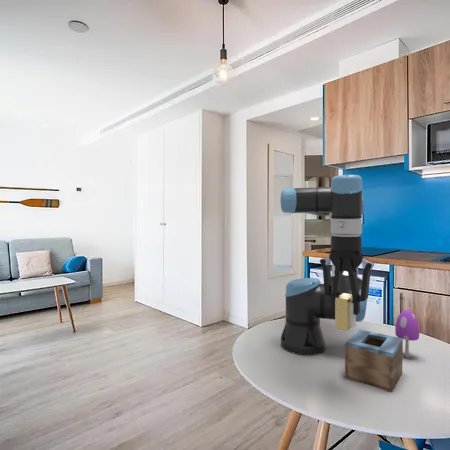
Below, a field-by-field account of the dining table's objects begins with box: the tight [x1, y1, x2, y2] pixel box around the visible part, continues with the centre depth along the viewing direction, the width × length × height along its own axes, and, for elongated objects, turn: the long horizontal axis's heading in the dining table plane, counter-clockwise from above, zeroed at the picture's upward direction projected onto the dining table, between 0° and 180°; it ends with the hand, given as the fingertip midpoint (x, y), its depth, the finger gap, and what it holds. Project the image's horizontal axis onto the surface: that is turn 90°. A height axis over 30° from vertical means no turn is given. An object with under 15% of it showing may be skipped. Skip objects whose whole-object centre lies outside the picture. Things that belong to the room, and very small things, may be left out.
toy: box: [394, 309, 420, 358], centre depth 103 cm, size 7×7×15 cm
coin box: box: [344, 329, 404, 392], centre depth 92 cm, size 12×13×10 cm
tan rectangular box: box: [334, 293, 353, 332], centre depth 84 cm, size 3×6×8 cm, turn 141°
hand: (345, 324), depth 84 cm, fingers closed on tan rectangular box, 3 cm apart
